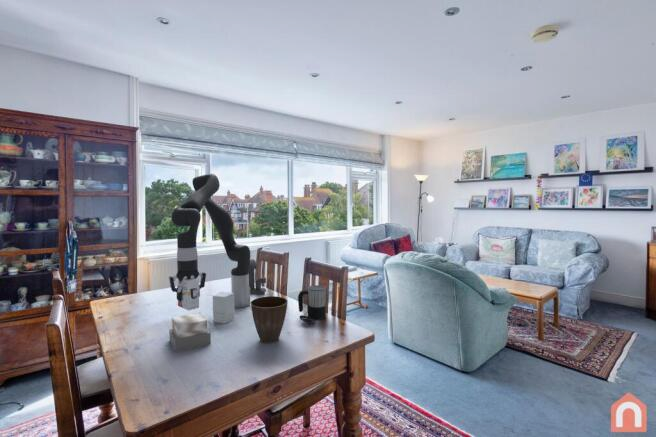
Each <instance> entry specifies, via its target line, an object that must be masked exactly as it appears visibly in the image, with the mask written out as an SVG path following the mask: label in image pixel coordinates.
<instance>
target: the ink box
mask: <svg viewBox="0 0 656 437" xmlns="http://www.w3.org/2000/svg"><path fill="white" fill-rule="evenodd" d="M177 283H178V284H179V279H178V278H177ZM180 284H181V282H180ZM199 285H200V279H199V278H198V277H197V278H195V279H186V280H184V285H183V287H182V289H181V291H180V292H181V302H179V300H177V307H179V308H182V309H184V310H187V311H192V310H196V309H199V308H200V297H199Z"/></svg>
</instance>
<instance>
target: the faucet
mask: <svg viewBox="0 0 656 437" xmlns="http://www.w3.org/2000/svg"><path fill="white" fill-rule="evenodd" d="M257 266H258V264H257V262H256V260H255V259H252V258H250V269H249V288H250V295H265V293H266V292H267V289H266V288H265V287H262V284H266V283H267V277H258V278H257V279H255V270H257ZM255 280H256V281H255Z"/></svg>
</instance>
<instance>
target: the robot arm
mask: <svg viewBox="0 0 656 437" xmlns="http://www.w3.org/2000/svg"><path fill="white" fill-rule="evenodd" d="M192 186H193V189H194V192H193V193H192V194H191V195H189V197H188V198H187V199H186V200H185V202H184V203H182V204H180V205H178V206H177V207H176V208H175V209H174V210H173V211H172V213H171V217H170V218H171V220H170V221H171V222H172V224H173V225H174V226H175V227H189V228H188V230H187V231H182V232H179V233H178V234H177V237H176V242H177V246H176V247H177V248H176V249H177V252H176V265H177V266H176V268H177V271H176V274H175V275H169V277H168V280H169V284H170V289H171V291H172V293H174V292H175V293H176V300H177V301H178V300H179V302H181V292H180V291H181V289H182V287H183V285H184V280H186V279H195V278H197V279H198V277H199V278H200V280H199V298H200V296H201V291H200V290H201V289H202V288H205V284H206V278H207V273H206V272H205V271H202V272H200V271H199V269H198V268H199V267H198V266H199V265H198V257H199V256H198V249H197V248H198V246H197V235H198V230H199V227H200V223H201V218H202V217H201V216H202V215H201V211H202V210H203V208H205V210H206V212H207V214H208V216H209V217H210V219H211V221H212V225H213V227H214V228H215V230H216V232H217V234H218V236H219V237H220V239H221V242H222V244H223V247H224V249H225V253H226V256H227V257H228V259H229V260H230V261H233V262H237V265H236V267H233V268H231V270H230V273H231V274H230V283H231V284H230V285H231V286H230V287H231V289H230V290H231V292H230V293H234V309H235V308H236V309H238V308H239V309H241V308H246V307H249V306H251V294H250V288H249V269H250V260H251V249H250V247H249V245H245V244H238V243H237V242H236V240H235V238H234V234H233V233H234V226H235V224H234V220H233V219H232V216H231V214H230V212H229V211H228V210H227V209H226V208H225V207H223V206H222V205H220V204H218V203H217V202H216V201H214V199H213V198H212V197H213V196H214V195H215V194H216V193H217V192H218V191H219V189H220V179H219V178H218V176H217V175H216V174H215V173H206V174H202V175H198V176H196V177H194V178H192ZM176 279H177V280H178V279H179V284H178V285H177V287H176V286H175V281H176ZM180 282H181V284H180Z"/></svg>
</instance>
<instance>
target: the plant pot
mask: <svg viewBox="0 0 656 437" xmlns="http://www.w3.org/2000/svg"><path fill="white" fill-rule="evenodd" d="M250 307H251V315H252V318H253V323H254V327H255V330H256V332H257V335H258V338H259V341H260V342H261V343H264V344H274V343H276V342H278V341H279V339H280V337H281V336H280V335H281V333H282V330H283V327H284V324H285V319H286V314H287V310H288V299H287V298H285V297H282V296H277V295H276V296H275V295H274V296H272V295H271V296H261V297H257V298H254V299H252V300H250Z"/></svg>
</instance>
